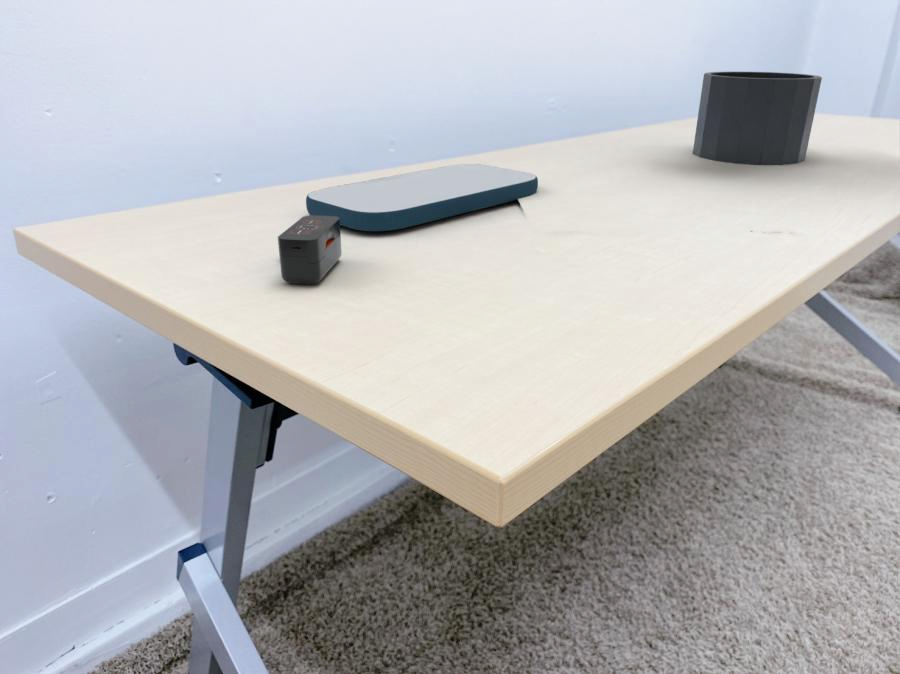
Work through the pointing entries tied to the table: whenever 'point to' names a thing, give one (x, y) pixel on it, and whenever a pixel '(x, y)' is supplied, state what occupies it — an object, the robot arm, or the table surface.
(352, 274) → the table surface
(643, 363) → the table surface
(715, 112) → the pot
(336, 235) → the dark grey box
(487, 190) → the grey flat rounded slab
